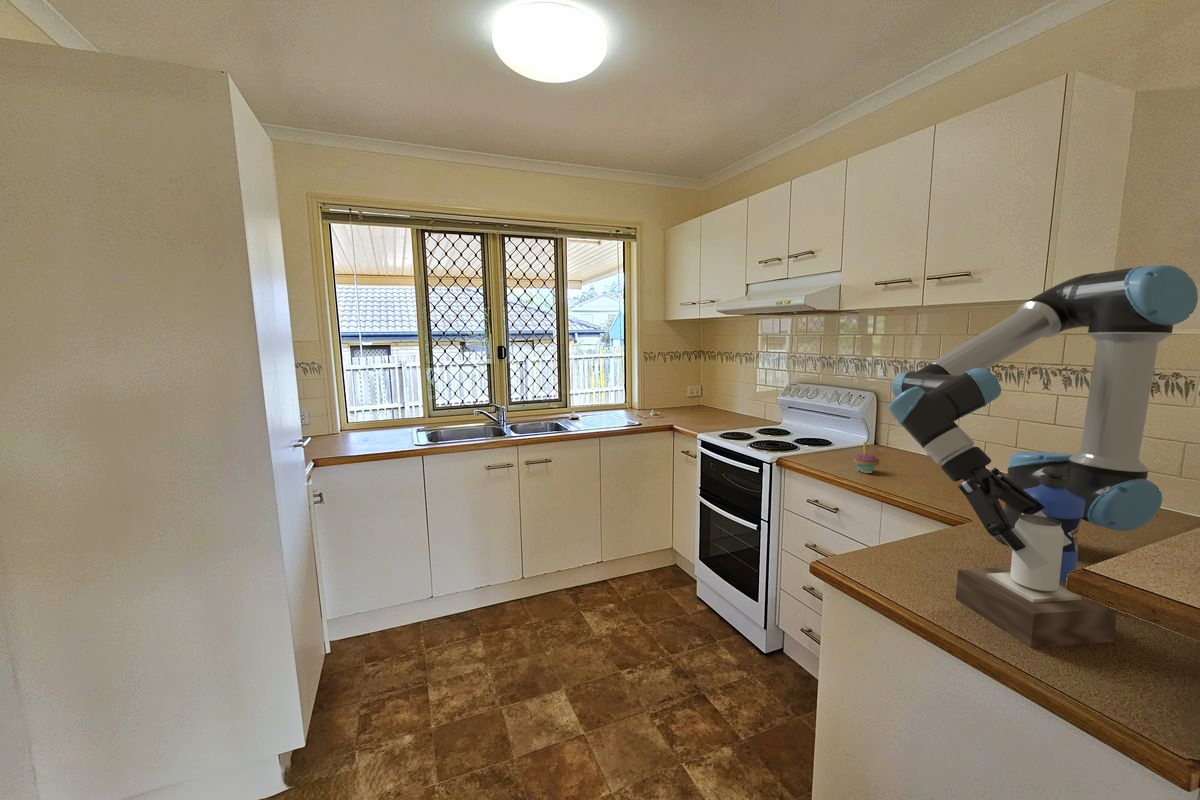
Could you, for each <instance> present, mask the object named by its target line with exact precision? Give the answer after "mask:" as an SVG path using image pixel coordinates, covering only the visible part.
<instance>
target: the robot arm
mask: <svg viewBox="0 0 1200 800" xmlns="http://www.w3.org/2000/svg"><path fill="white" fill-rule="evenodd" d="M1198 293H1199V292H1198V288H1197V285H1196V283H1195V281H1194V279H1193V278H1192V277H1191V276H1189V274H1188V272H1187V271H1185V270H1183V269H1181V268H1180V267H1177V266H1174V265H1170V264H1169V265H1168V264H1167V265H1166V264H1164V265H1163V264H1161V265H1143V266H1136V267H1130V268H1123V269H1116V270H1110V271H1108V270H1107V271H1103V272H1095V273H1086V274H1082V275H1079V276H1075V277H1073V278H1070V279H1068V280H1065V281H1063V282H1060V283H1058V284H1057V285H1054V286H1053V287H1049V288H1048V289H1046V290H1045V291H1043V292H1041V293H1039V294H1037V295H1035V296H1034V297H1032V298H1030V299H1028V300H1027V301H1024V302H1023V303H1022V304H1020V305H1019V306H1018V308H1017V311H1016V313H1014V314H1012V315H1010V316H1009V317H1006V318H1005V319H1003V320H1002V321H1000V322H999V323H997V324H995V325H993V326H991V327H990V328H989V329H985V331H983V332H980V334H978V335H976V336H974V337H973V338H971V339H969V340H967V341H966V342H965V343H962V344H961V345H960V346H957V347H955V348H954V349H953V350H951V351H950V352H948V353H946V354H944V355H943V356H941V357H939V358H937V359H935V360H934V361H932V362H930V363H929V364H927V365H926V366H923V367H922V368H920V369H919V370H916V371H915V370H910V371H903V372H900V373H899V374H898V375H896V377H894V379H893V381H892V384H891V385H892V386H891V390H892V392H893V393H892V394H893V395H894V396H895V398H893V399H892V400H891V401H890V403H889V405H888V410H889V412H890V413H891V414H892V416H893V417H894V418H895V419H896V421H897V422H898V424H899V425H900V426H902V427H903V428H904V429H905V430H906V431H907V433H908V434H909V435H911V437H912V438H913V439H914V440H915V441H916V442H917V443H918V444H919V445H920V446H921V448H923V449H924V451H925V452H926V456H927V457H928V458H931V459H933V461H934V462H935V463H936V464H938V465H940V464H941V470H942V471H943V472H944V474H946V476H948V478H949V479H950V480H951V481H953V482H960V481H961V480H963V481H962V482H961V483H959V484H958V485H957V487H958V489H959V490H960V491H961V492H962V494H963V495H964V496H965V497H966V499H967V501H968V502H969V504H970V506H971V508H973V510H974V512H975V514H976V516H977V517H978V519H979V520H980V522H981V524H982V525H983V527H984V528H985V530H986V532H987V533H988V534H989V535H990V536H991V537H993V538H994V539H996V540H997V541H999V542H1001V543H1002V544H1004V545H1006V546H1008V547H1009V548H1010V549H1011V551H1012V550H1013V551H1014V552H1015V553H1016V554H1017V555H1018V556H1019V557H1020V559H1021V560H1022V561H1023V562H1024V563H1025V564H1026V565H1027V566H1028V567H1029V568H1030V570H1033V569H1035V568H1038V567H1040V566H1043V565H1045V564H1048V563H1049V562H1048V561H1047V560H1046V559H1045V558H1044V557H1043V556H1042V555H1041V554H1040V553H1039V551H1038V550H1037V549H1036V548H1035V547H1034V546H1033V545H1032V544H1031V543H1030V542H1029V541H1028V540H1027V539H1026V538H1025V537H1024V535H1023V534H1022V533H1021V532H1020V531H1019V530H1018V529H1017V528H1016V527H1015V523H1016V522H1017V521H1018V519H1019V515H1022V513H1023V514H1029V515H1038V516H1044V517H1047V516H1046V515H1045V514H1044V513H1043V512H1042V511H1040V510H1042V509H1044V508H1045V507H1044V506H1043V504H1041V503H1040V502H1039V501H1037V500H1036V499H1035V498H1033V497H1032V496H1031V495H1029V494H1028V493H1027V492H1025V491H1024V489H1028V488H1033V487H1038V486H1039V485H1041V483H1039V482H1040V475H1045V474H1044V473H1043V471H1042V470H1043V469H1045V468H1047V467H1048V466H1060V467H1062V468H1063V469H1064V470H1065V471H1066V472H1067V473H1068V475H1067V476H1065V478H1068V479H1069V484H1068V487H1066V488H1067V489H1068V490H1069V491H1070V492H1071V493H1073V494H1075V495H1077V496H1079V497H1081V498H1083V499H1084V500H1085V507H1084V516H1083V517H1082V519H1081V521H1082V520H1083V521H1086V522H1087V523H1091V524H1092V525H1094V526H1096V527H1103V528H1106V529H1110V530H1113V531H1116V532H1127V531H1134V530H1137V529H1139V528H1142V527H1144V526H1145V525H1146V524H1147V523H1150V522H1151V521H1152V520H1154V518H1155V517H1156V515H1157V514H1158V513H1159V511H1160V510H1161V506H1162V503H1163V495H1162V491H1161V490H1160V487H1159V486H1158V485H1157V484H1156V483H1154V482H1153V481H1150V480H1149V479H1148V474H1149V467H1147V465H1145V464H1144V463H1143V462H1142V461H1141V460H1140V456H1141V447H1142V443H1143V442H1142V441H1143V437H1144V431H1145V425H1146V418H1147V413H1148V406H1149V403H1150V402H1149V401H1150V394H1151V389H1152V383H1153V376H1154V371H1155V370H1154V369H1155V366H1156V359H1157V355H1158V354H1157V353H1158V347H1159V344H1160V342H1163V340H1165V339H1167V338H1168V337H1170V336H1172V335H1173V329H1174V325H1177V324H1180V323H1183V322H1184V321H1186V320H1188V319H1189V318H1190V315H1191V314H1193V313H1194V312H1195V310H1196V308H1197V305H1198V301H1199V300H1198V299H1199V294H1198ZM1081 327H1082V328H1086V327H1087V328H1088V329H1087V330H1088V331H1087V335H1088V337H1090V338H1091V339H1093V340H1094V341H1095V342H1096V345H1095V351H1094V357H1093V365H1092V370H1091V376H1090V382H1089V383H1090V384H1089V389H1088V397H1087V404H1086V408H1085V410H1086V411H1085V416H1084V423H1083V430H1082V436H1081V441H1080V448H1079V452H1077V453H1075V454H1072V453H1066V452H1054V451H1053V452H1052V451H1027V450H1026V451H1016V452H1014V453H1013V454H1012V455H1011V456H1010V457H1009V463H1008V466H1007V476H1006V475H1004V474H1003V473H1002V471H1000V470H999V469H998V468H997V467H993V469H991V470H989V469H988V468H987V466H988V465H989V464H991V462H992V459H991V458H990V457H989V456H988V455H987V454H986V453H985V452H984V450H983V449H981V447H979V446H974V444H975V441H974V440H973V439H972V438H971V437H970V436H969V435H968V434H967V433H966V432H965V431H964V430H963V429H962V428H961V427H960V426H959V425H958V424H957V423H956V421H958V420H960V419H961V418H964V417H965V416H967V415H969V414H970V413H974V412H975V411H977V410H979V409H981V408H983V407H986V406H988V405H989V404H990V403H992V402H993V401H995V400H996V399H998V397H1000V396H1001V394H1002V386H1001V384H1000V383H999V382H1000V381H999V379H998V378H997V376H995V375H994V374H993V373H992V372H991V371H989V370H988V369H990V368H991V367H993V366H994V365H997V364H998V363H1000V362H1001V361H1004V360H1005V359H1006V358H1008V357H1010V356H1012V355H1014V354H1015V353H1017V352H1018V351H1019V352H1020V351H1021V350H1023V349H1024V348H1026V347H1027V346H1029V345H1031V344H1033V343H1034V342H1036V341H1037V340H1040V339H1041V338H1052V337H1054V336H1056V335H1057V334H1059V333H1061V332H1064V331H1067V330H1070V329H1071V330H1072V329H1076V328H1081ZM999 500H1000V501H1002V502H1004V503H1005V505H1004V508H1003V506H1002V504H1001V502H1000V501H999ZM1071 543H1072V542H1071V541H1070V540H1069V539H1068V538H1067V537H1066V536H1065V535H1064V541H1063V546H1066V545H1068V544H1071Z"/></svg>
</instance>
